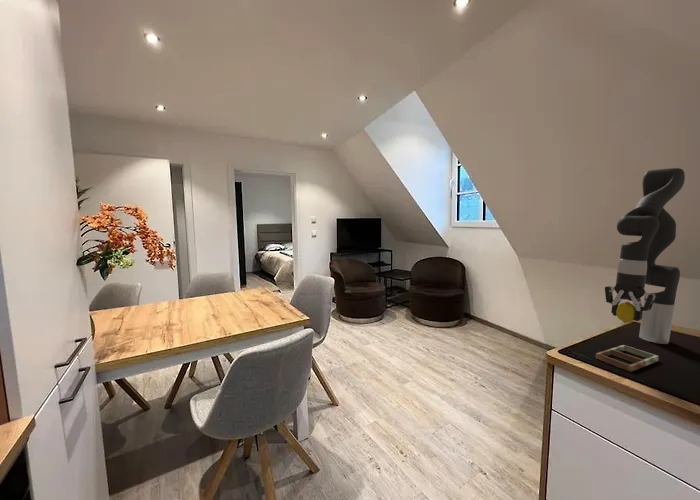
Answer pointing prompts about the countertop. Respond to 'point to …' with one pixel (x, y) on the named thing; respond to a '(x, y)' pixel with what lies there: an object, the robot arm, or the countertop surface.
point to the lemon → (626, 312)
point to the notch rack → (627, 357)
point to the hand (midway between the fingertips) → (625, 317)
